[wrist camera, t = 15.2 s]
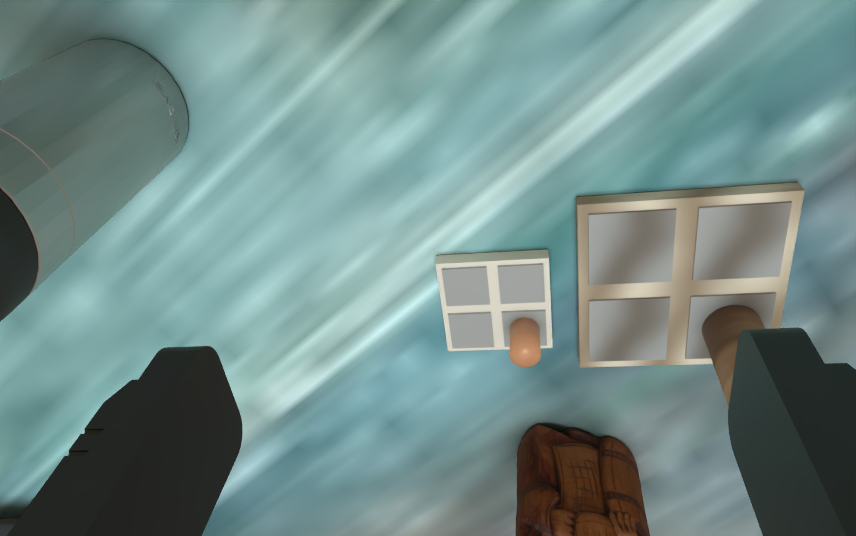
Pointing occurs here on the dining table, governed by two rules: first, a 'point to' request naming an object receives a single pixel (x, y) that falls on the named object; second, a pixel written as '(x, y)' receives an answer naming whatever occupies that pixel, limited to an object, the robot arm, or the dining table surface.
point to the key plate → (497, 302)
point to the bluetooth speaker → (6, 526)
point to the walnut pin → (727, 339)
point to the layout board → (678, 268)
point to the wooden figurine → (577, 486)
